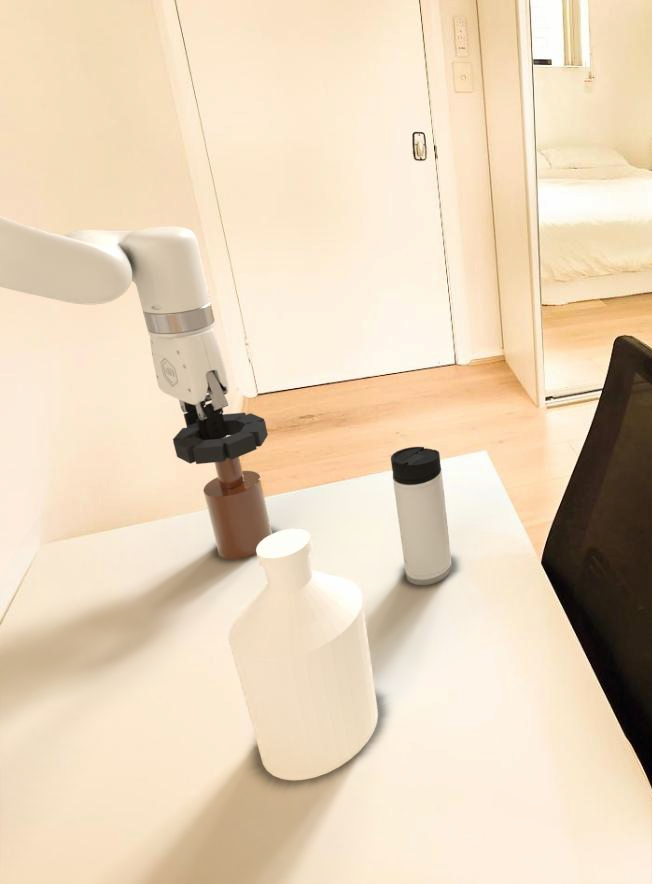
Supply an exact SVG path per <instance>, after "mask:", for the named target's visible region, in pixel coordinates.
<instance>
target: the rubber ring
mask: <svg viewBox="0 0 652 884" xmlns="http://www.w3.org/2000/svg"><path fill="white" fill-rule="evenodd" d="M222 414H223V419H224V423H225V427H226V432H227V436H226V437H225V438H222V439H212V440H202V439H201V437H200V433H199V430H198V426H197V422H196V423H194V424H191V425H188V428H187V427H182V428H181V429H180V430H179V431H178V432H177V434H176V435H175V436H174V437H173V438H172V441H173V442H172V443H173V446H174V450H175V455H176V458H178V459H180V460H182V461H184V462H186V463H188V464H193V463H195V464H196V465H201V464H202V465H203V464H213V463H214V462H223V461H225V460H226V458H227V457H228V458H230V459H235V458H237V457H239V458H240V457H241V456H245V455H247V454H249V453H252V452H253V451H256V450H257V449H258V448H257V447H259V448H260V447H262V446H263V444H264V443H265V440H266V439H267V437H268V436H269V434H268V430H267V429H268V428H267V425H266V424H267V423H266V420H265V418H263V417H261V416H259V415H256V414H254V413H252V412H251V413H246V412H236V413H222Z"/></svg>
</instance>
